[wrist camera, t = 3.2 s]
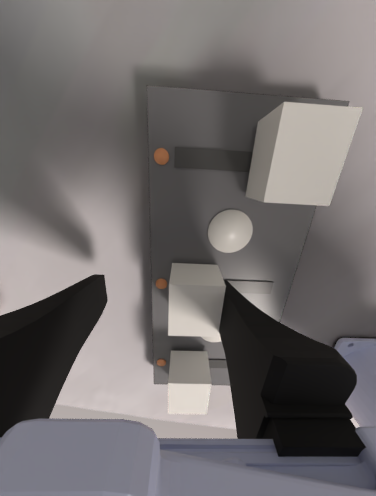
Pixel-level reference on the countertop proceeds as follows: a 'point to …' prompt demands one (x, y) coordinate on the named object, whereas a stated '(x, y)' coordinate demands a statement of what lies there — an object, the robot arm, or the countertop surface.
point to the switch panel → (215, 209)
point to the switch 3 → (301, 153)
